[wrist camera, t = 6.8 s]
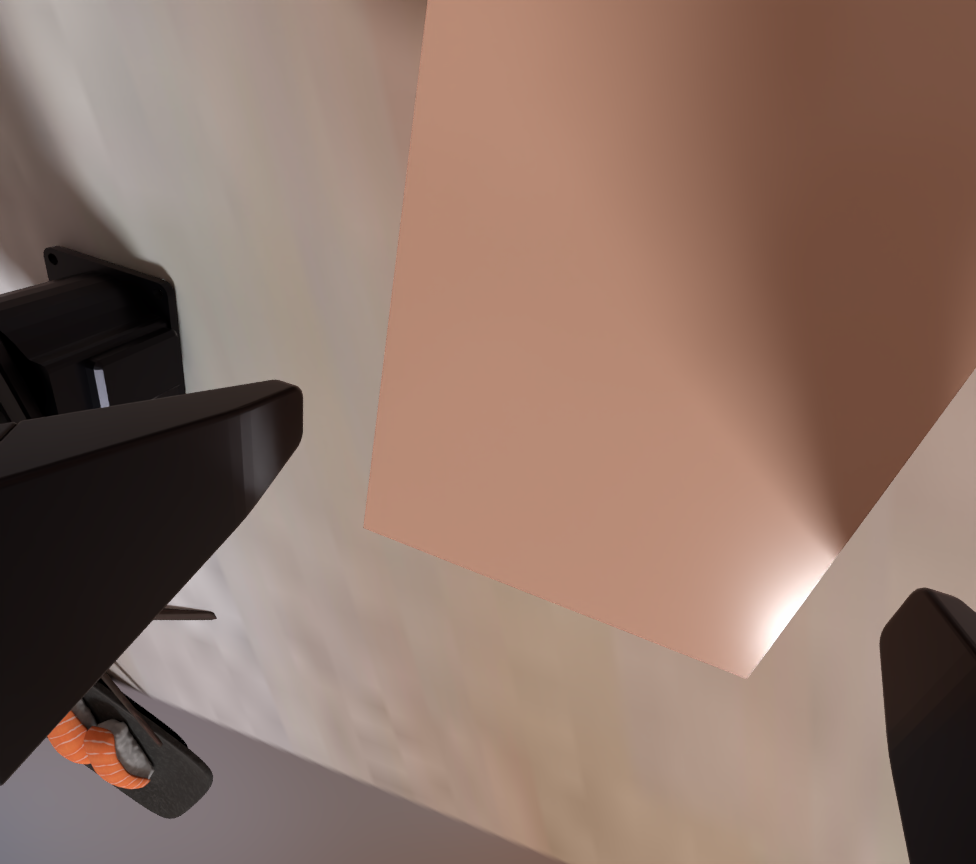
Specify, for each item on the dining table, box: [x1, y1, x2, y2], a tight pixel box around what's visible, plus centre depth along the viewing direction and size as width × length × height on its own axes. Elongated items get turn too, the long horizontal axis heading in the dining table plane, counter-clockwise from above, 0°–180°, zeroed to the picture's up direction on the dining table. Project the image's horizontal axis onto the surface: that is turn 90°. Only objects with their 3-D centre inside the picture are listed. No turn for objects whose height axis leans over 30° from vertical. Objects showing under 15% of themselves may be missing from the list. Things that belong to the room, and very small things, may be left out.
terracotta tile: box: [363, 0, 976, 679], centre depth 8 cm, size 7×10×2 cm
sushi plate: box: [47, 609, 217, 819], centre depth 43 cm, size 29×30×4 cm
